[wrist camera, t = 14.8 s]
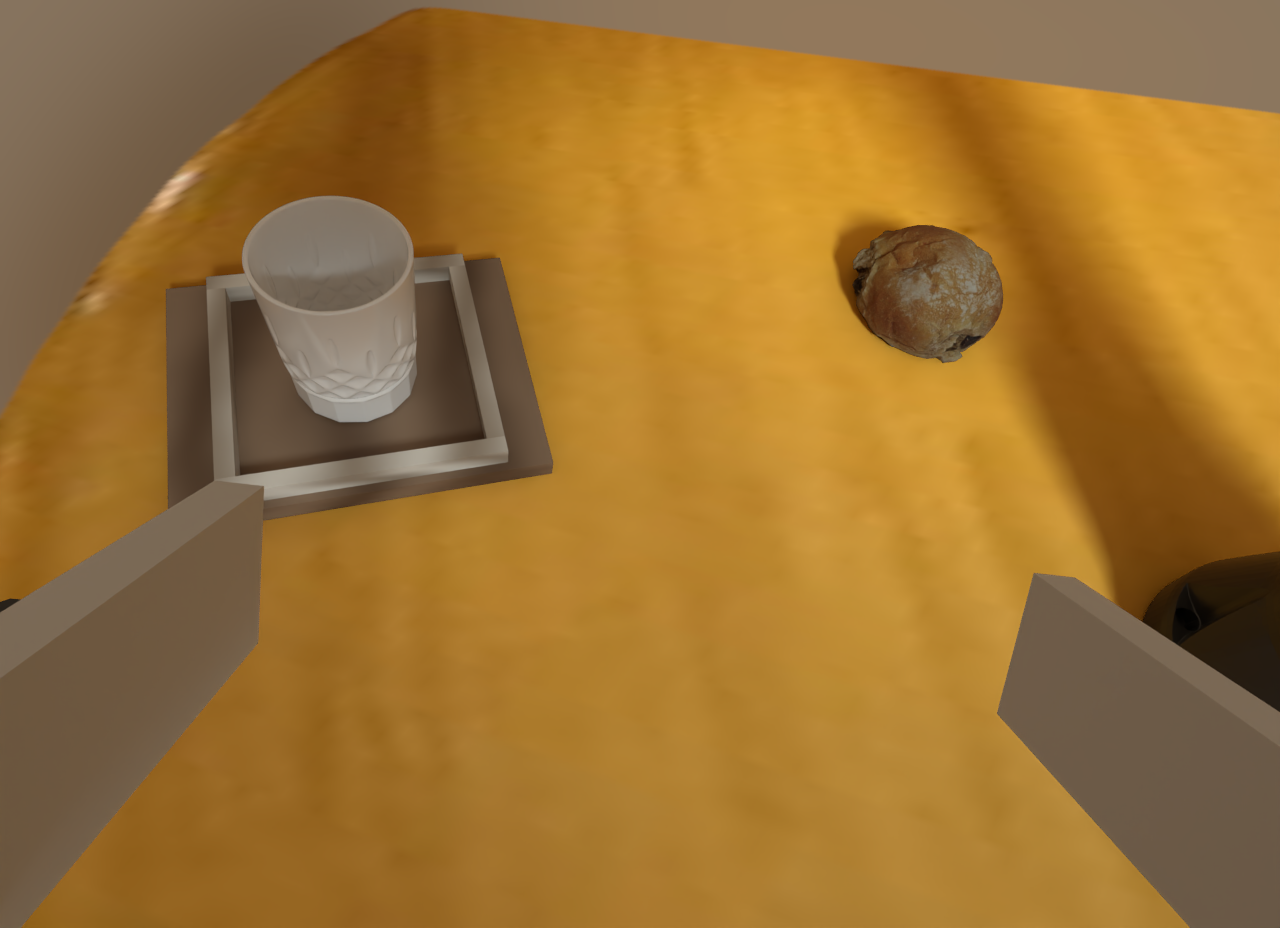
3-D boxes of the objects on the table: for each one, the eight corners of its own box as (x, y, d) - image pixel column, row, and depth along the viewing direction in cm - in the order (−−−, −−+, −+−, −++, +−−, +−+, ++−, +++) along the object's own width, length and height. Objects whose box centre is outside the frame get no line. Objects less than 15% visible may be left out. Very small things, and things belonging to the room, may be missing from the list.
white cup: (257, 367, 49) (208, 239, 40) (372, 304, 52) (349, 173, 44) (339, 457, 46) (305, 341, 38) (454, 384, 50) (446, 264, 42)
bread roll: (878, 398, 61) (960, 370, 54) (811, 271, 60) (885, 225, 53) (964, 342, 65) (1051, 309, 58) (902, 223, 64) (982, 175, 57)
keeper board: (499, 270, 57) (499, 244, 55) (551, 473, 49) (554, 451, 47) (172, 302, 52) (159, 274, 50) (175, 534, 44) (160, 513, 42)
